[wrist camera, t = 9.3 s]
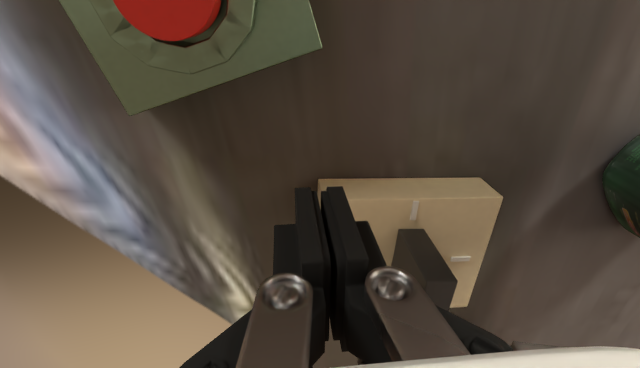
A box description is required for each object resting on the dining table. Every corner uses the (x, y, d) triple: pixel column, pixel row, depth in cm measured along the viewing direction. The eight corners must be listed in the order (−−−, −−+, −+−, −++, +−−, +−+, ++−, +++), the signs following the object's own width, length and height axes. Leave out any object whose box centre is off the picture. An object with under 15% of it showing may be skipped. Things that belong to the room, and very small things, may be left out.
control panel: (480, 177, 25) (505, 198, 22) (450, 280, 29) (468, 308, 27) (317, 178, 23) (322, 201, 21) (313, 286, 28) (316, 316, 25)
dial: (398, 228, 22) (428, 285, 18) (424, 228, 23) (460, 284, 18) (386, 290, 25) (410, 354, 20) (409, 289, 25) (438, 352, 20)
